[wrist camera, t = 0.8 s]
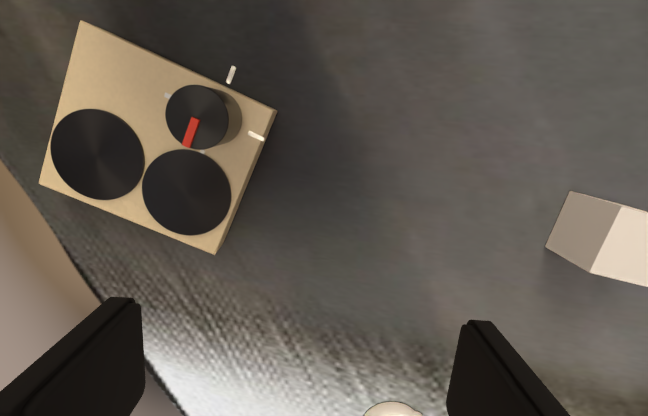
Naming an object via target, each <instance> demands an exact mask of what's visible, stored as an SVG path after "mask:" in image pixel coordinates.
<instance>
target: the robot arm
mask: <svg viewBox="0 0 648 416" xmlns="http://www.w3.org/2000/svg"><path fill="white" fill-rule="evenodd" d="M144 389H145V367H144V350H143V333H142V316H141V306H140V304H136V303H135V300H134V299H133V298H123V297H110V298H108V299H107V300H106V301H105V302H104V303H102V304H101V305H100V306H99V307H98V308H97V309H96V310H94V311H93V312H92V313H91V314H90V315H89V316H88V317H86V318H85V319H84V320H83V321H82V322H80V323H79V324H78V325H77V326H76V327H75V328H74V329H72V330H71V331H70V332H69V333H68V334H67V335H65V336H64V337H63V338H62V339H61V340H60V341H58V342H57V343H56V344H55V345H54V346H53V347H51V348H50V349H49V350H48V351H47V352H46V353H44V354H43V355H42V356H41V357H40V358H39V359H37V360H36V361H35V362H34V363H33V364H32V365H31V366H30V367H28V368H27V369H26V370H25V371H24V372H23V373H21V374H20V375H19V376H18V377H17V378H15V379H14V380H13V381H12V382H11V383H10V384H9V385H7V386H6V387H5V388H4V389H3V390H2V391H0V416H130V414H131V412H132V411H133V409H134V408H135V406H136V405H137V403H138V401H139V400H140V398H141V397H142V395H143V392H144ZM446 406H447V412H448V415H449V416H570V415H569V414H568V412H567V411H566V410H565V409H564V408H563V407H562V405H561V404H560V403H559V402H558V401H557V399H556V398H555V397H554V396H553V395H552V393H551V392H550V391H549V390H548V389H547V387H546V386H545V385H544V384H543V383H542V381H541V380H540V379H539V378H538V377H537V376H536V374H535V373H534V372H533V371H532V370H531V368H530V367H529V366H528V365H527V364H526V362H525V361H524V360H523V359H522V358H521V356H520V355H519V354H518V353H517V352H516V350H515V349H514V348H513V347H512V346H511V345H510V343H509V342H508V341H507V340H506V339H505V337H504V336H503V335H502V334H501V333H500V331H499V330H498V329H497V328H496V327H495V325H494V324H493V323H492V322H491V321H481V320H469V321H468V323H467V325H465V324H464V325H462V327H461V331H460V335H459V340H458V345H457V350H456V355H455V360H454V365H453V370H452V375H451V380H450V385H449V389H448V394H447V400H446Z"/></svg>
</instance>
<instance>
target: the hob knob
mask: <svg viewBox="0 0 648 416" xmlns="http://www.w3.org/2000/svg"><path fill="white" fill-rule="evenodd" d="M165 117H166V123H167V126H168V129H169V130H170V132H171V134H172V135H173V137H174V138H175V139H176V140H177V141H178V142H180V143H181V144H182V145H183V146H185V147H187V148H192V149H197V150H203V149H208V148H212V147H215V146H218V145H222V144H225V143H228V142H230V141H231V140H233V139H234V138H235V137H236V136H237V134H238V133H239V131H240V129H241V126H242V113H241V109H240V107H239V105H238V103H237V102H236V100H235V99H234V98H233V97H232V96H231V95H229V94H228V93H226V92H224V91H221V90H217V89H214V88H210V87H206V86H202V85H187V86H184V87H181V88H179V89H178V90H176V91H175V92H174V93H173V94H172V96H171V97H170V99H169V100H168V103H167V106H166V111H165Z"/></svg>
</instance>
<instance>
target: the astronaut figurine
mask: <svg viewBox="0 0 648 416" xmlns="http://www.w3.org/2000/svg"><path fill="white" fill-rule="evenodd" d="M364 416H423V415H422V414H421V413H420V412H418V411H414V410H413V409H412V408H411V407H409V406H407V405H405V404H402V403H398V402H385V403H380V404H377V405H375V406H374V407H372V408H371V409H369V410H368V411H367V412H366V413H365V415H364Z"/></svg>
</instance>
